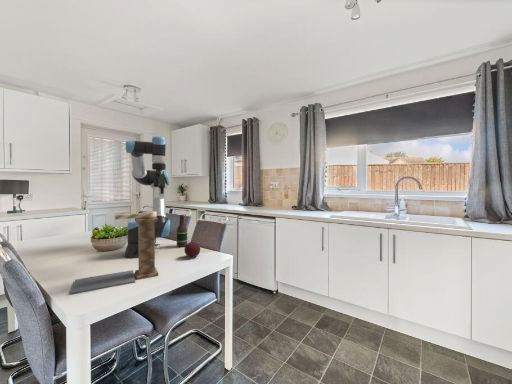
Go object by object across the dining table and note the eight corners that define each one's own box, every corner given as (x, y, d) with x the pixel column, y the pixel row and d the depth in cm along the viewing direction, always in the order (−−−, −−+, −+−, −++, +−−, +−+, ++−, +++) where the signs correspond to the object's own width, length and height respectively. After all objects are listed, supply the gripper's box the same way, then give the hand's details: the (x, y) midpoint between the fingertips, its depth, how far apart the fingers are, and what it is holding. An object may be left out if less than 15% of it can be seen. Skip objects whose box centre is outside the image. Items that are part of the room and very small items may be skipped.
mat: (70, 294, 102) (70, 292, 102) (75, 281, 116) (75, 279, 116) (135, 282, 115) (135, 280, 115) (132, 271, 129) (132, 270, 129)
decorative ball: (202, 255, 159) (203, 240, 158) (195, 260, 149) (195, 244, 149) (189, 254, 161) (189, 239, 161) (181, 258, 151) (181, 243, 151)
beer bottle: (178, 245, 184) (178, 214, 183) (188, 244, 184) (188, 214, 183) (175, 247, 176) (175, 215, 175) (186, 247, 177) (186, 215, 176)
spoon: (115, 221, 114) (115, 215, 114) (115, 219, 120) (114, 213, 119) (157, 218, 124) (157, 212, 123) (155, 216, 129) (155, 211, 129)
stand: (136, 279, 118) (136, 220, 117) (135, 273, 127) (134, 217, 126) (158, 275, 124) (158, 218, 122) (155, 269, 132) (155, 216, 131)
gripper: (170, 162, 134) (171, 199, 135) (160, 164, 154) (160, 196, 156) (156, 161, 130) (157, 200, 131) (148, 163, 150) (148, 196, 151)
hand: (159, 198), depth 143 cm, fingers open, 13 cm apart
